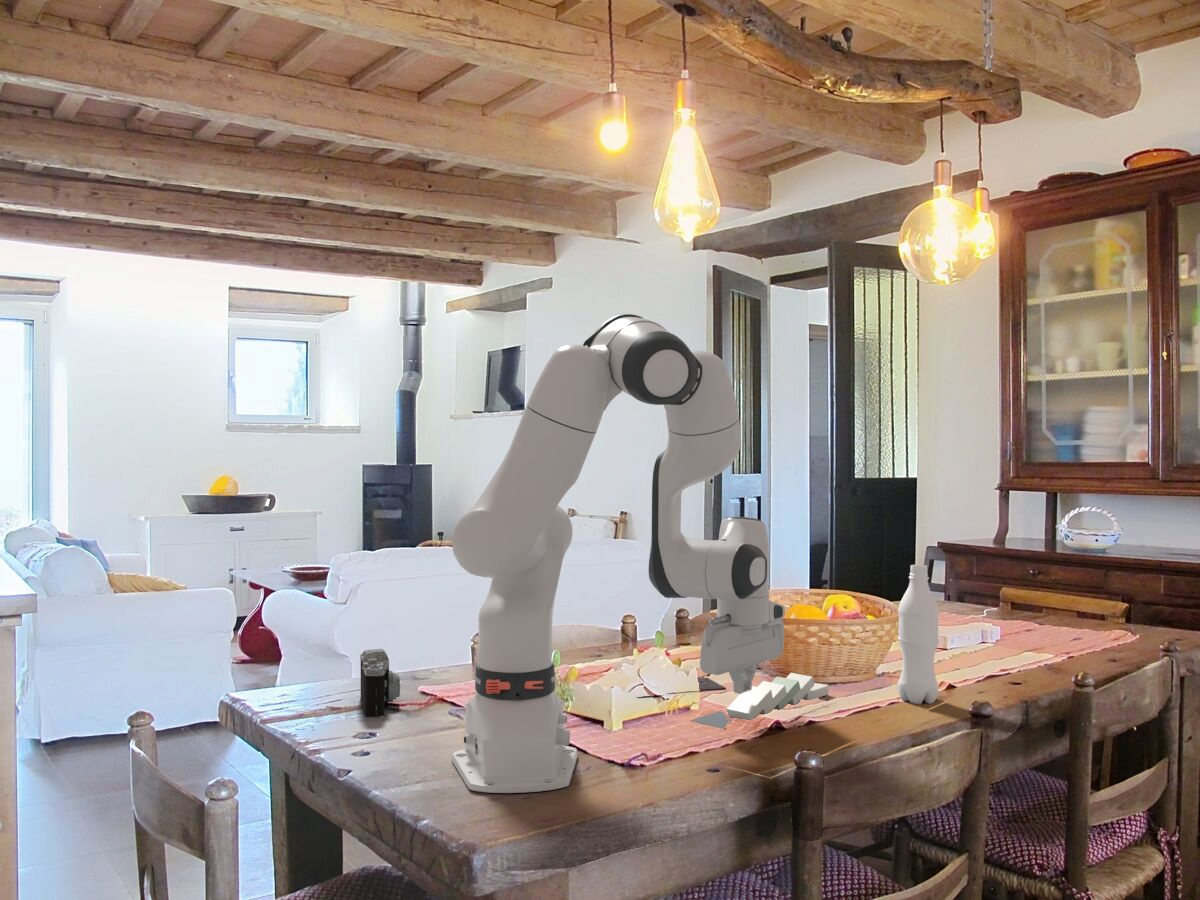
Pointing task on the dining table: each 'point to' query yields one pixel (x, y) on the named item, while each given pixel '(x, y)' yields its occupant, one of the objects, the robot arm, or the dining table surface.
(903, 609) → the water bottle
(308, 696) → the dining table surface
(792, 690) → the tile
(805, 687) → the tile
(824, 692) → the tile
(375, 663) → the camera
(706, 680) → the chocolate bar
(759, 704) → the tile
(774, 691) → the tile
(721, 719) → the felt runner
